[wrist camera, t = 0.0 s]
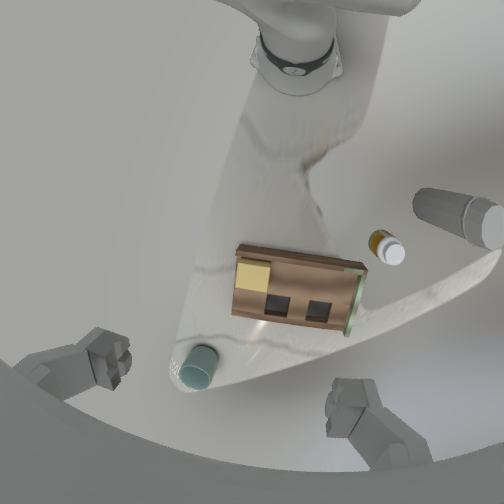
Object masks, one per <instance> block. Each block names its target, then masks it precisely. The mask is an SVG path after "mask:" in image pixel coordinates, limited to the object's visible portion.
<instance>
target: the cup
mask: <svg viewBox="0 0 504 504" xmlns="http://www.w3.org/2000/svg"><path fill="white" fill-rule="evenodd" d="M217 360H218V359H217V355H216V353H215V352H214V351H213V350H212V349H211V348H209V347H206V346H198V347H196V348H194V349H193V350H192V351H191V352H190V353H189V355H188V356H187V358H186V359H185V361H184V363H183V364H182V366H181V368H180V371H179V377H180V379H181V381H182V382H183V383H184V384H185V385H187V386H188V387H190V388H193V389H196V390H203V389H206V388H208V387H209V385H210V384H211V381H212V379H213V376H214V374H215V371H216V367H217Z"/></svg>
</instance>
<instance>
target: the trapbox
mask: <svg viewBox="0 0 504 504" xmlns="http://www.w3.org/2000/svg"><path fill="white" fill-rule="evenodd" d="M235 256H237V264H236V274H235V283H234V293H233V304H232V314H231V315H235V316H241V317H246V318H252V319H258V320H265V321H271V322H277V323H284V324H291V325H298V326H306V327H313V328H321V329H330V330H339V331H343V334H344V337H349V335H350V332H351V329H352V326H353V322H354V319H355V316H356V312H357V309H358V306H359V302H360V298H361V295H362V291H363V287H364V284H365V280H366V276H367V272H368V270H367V268H366V267H365V266H364V265H363V263H362V262H355V261H349V260H343V259H336V258H330V257H323V256H317V255H310V254H303V253H297V252H290V251H283V250H277V249H270V248H263V247H257V246H250V245H243V244H240V245H239V247H238V248H237V250H236V254H235ZM241 257H248V258H255V259H262V260H268V261H272V264H271V270H270V277H269V284H268V288H267V293H266V292H260V291H254V290H247V289H241V288H235V286H236V276H237V266H238V262H239V260H240V258H241ZM266 299H267V300H266ZM289 299H290V300H289ZM288 304H289V305H288ZM265 305H266V307H265ZM287 309H288V310H287Z"/></svg>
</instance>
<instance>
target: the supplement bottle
mask: <svg viewBox="0 0 504 504" xmlns="http://www.w3.org/2000/svg"><path fill="white" fill-rule="evenodd" d="M369 248H370V250H371V251H372V252H373V253H374V254H375V255H376V256H377V257H378V258H379V259H380V260H381V261H382V262H383V263H385V264H390V265H397V264H400V263H401V262H402V261H403V259H404V256H405V251H404V248H403V246H402V243H401V242H400V240H399V239H397V238H396V237H395V236H393V235H392V234H390V233H388V232H387V231H385V230H377V231H375V232H374V233H373V234H372V235H371V236H370V239H369Z"/></svg>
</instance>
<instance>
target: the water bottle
mask: <svg viewBox="0 0 504 504" xmlns="http://www.w3.org/2000/svg"><path fill="white" fill-rule="evenodd" d="M413 210H414V213H415V214H416V216H417V217H418V218H419V219H421V220H424V221H426V222H428V223H430V224H433V225H435V226H437V227H440V228H442V229H444V230H446V231H449V232H451V233H453V234H455V235H457V236H460V237H462V238H464V239H466V240H467V241H468V242H469V243H470V244H471V245H472V246H479V247H482V248H485V249H488V250H491V251H493V250H497V249H500V248H501V246H502V245H503V244H504V208H503V207H501V206H500V205H498V204H496V203H493V202H491V201H490V200H489V199H487V198H486V197H485V196H482V195H478V196H470V195H465V194H460V193H454V192H449V191H444V190H438V189H432V188H423V189H420V190H419V191H418V192H417V193H416V194H415V197H414V199H413Z"/></svg>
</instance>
